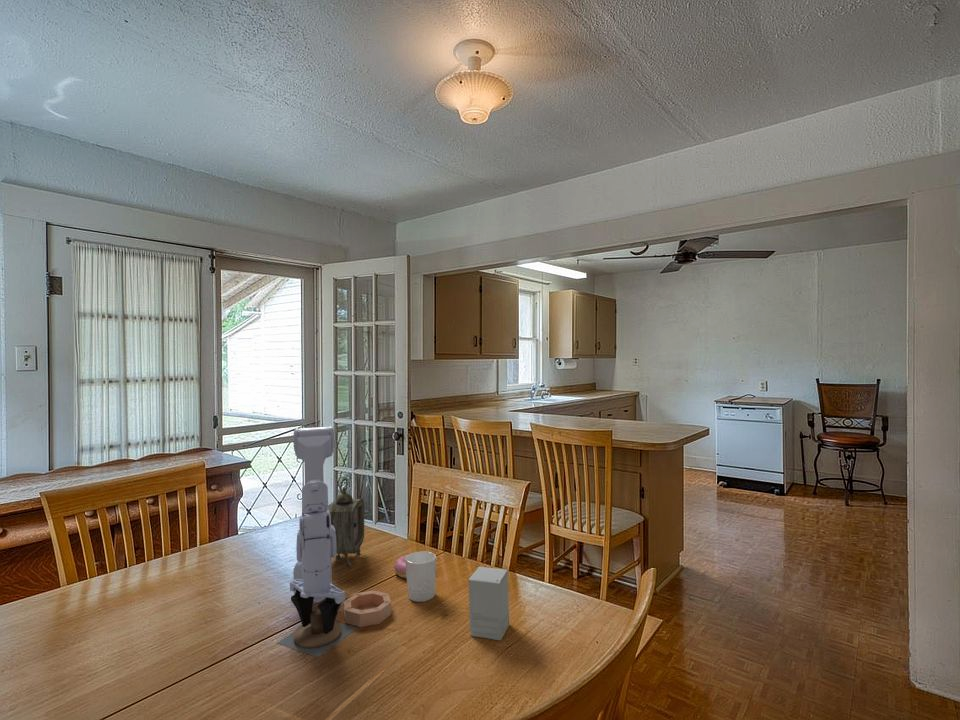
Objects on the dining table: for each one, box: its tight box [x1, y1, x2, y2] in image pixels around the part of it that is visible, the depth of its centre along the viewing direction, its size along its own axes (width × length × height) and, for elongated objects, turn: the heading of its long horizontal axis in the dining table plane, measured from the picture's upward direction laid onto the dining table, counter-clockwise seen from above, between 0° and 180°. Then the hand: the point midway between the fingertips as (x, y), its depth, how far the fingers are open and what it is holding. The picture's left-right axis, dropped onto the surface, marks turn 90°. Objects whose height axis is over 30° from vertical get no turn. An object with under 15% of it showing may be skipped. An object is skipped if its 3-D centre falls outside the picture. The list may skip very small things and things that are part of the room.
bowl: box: [343, 590, 392, 628], centre depth 119 cm, size 11×11×4 cm
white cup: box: [405, 550, 437, 603], centre depth 129 cm, size 8×8×10 cm
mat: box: [276, 622, 358, 658], centre depth 111 cm, size 12×12×1 cm
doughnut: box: [393, 553, 410, 579], centre depth 144 cm, size 11×11×4 cm
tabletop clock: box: [328, 477, 365, 568], centre depth 153 cm, size 14×9×25 cm, turn 179°
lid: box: [293, 609, 341, 649], centre depth 111 cm, size 10×10×5 cm
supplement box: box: [468, 566, 510, 642], centre depth 112 cm, size 7×7×13 cm
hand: (317, 628), depth 111 cm, fingers open, 6 cm apart
